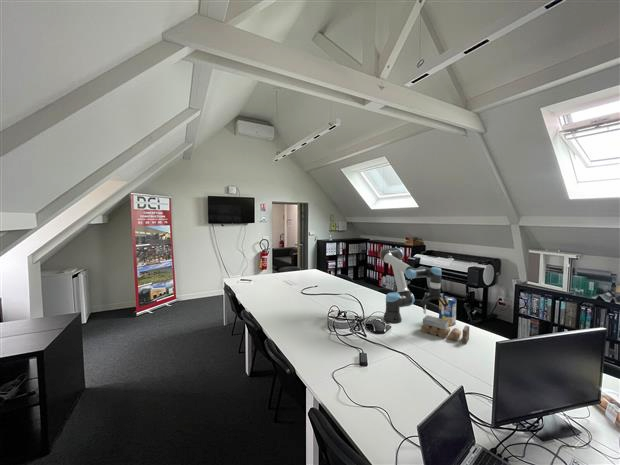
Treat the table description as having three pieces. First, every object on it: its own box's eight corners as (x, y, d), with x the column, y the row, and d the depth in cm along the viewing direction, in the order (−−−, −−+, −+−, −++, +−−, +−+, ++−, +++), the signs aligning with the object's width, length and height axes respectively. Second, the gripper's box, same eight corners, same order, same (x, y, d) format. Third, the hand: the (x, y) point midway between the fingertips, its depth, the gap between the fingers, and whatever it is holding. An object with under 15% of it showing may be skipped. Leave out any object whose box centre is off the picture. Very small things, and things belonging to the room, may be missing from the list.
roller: (449, 340, 184) (458, 341, 180) (447, 332, 185) (456, 333, 181) (453, 335, 192) (461, 336, 188) (451, 327, 193) (460, 328, 189)
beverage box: (452, 326, 207) (452, 300, 206) (438, 322, 216) (439, 297, 215) (455, 324, 211) (456, 298, 210) (442, 320, 220) (443, 295, 219)
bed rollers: (446, 339, 186) (446, 331, 185) (421, 331, 198) (421, 324, 198) (450, 333, 194) (450, 326, 194) (425, 327, 206) (425, 320, 206)
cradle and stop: (446, 338, 186) (447, 325, 185) (450, 334, 193) (450, 321, 193) (466, 344, 178) (466, 330, 177) (469, 339, 185) (469, 326, 184)
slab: (422, 323, 197) (422, 318, 197) (426, 319, 205) (427, 315, 204) (445, 329, 186) (445, 324, 186) (448, 325, 194) (448, 320, 194)
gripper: (420, 288, 192) (418, 314, 194) (454, 289, 190) (452, 316, 192) (417, 285, 200) (415, 310, 202) (449, 286, 197) (447, 312, 199)
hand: (433, 313), depth 197 cm, fingers open, 13 cm apart
